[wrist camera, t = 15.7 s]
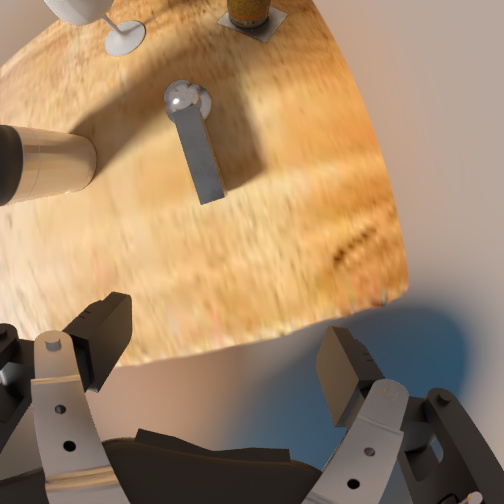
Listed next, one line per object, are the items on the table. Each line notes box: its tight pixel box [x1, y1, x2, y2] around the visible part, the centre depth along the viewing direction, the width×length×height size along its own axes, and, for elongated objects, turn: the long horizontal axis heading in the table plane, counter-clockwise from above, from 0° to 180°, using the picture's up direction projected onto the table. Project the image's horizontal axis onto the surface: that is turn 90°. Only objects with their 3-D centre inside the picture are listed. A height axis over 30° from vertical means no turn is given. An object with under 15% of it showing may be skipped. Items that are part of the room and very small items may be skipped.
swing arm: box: [164, 80, 228, 205], centre depth 33 cm, size 16×4×5 cm, turn 17°
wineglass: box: [44, 0, 145, 56], centre depth 21 cm, size 8×8×21 cm
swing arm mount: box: [166, 84, 212, 123], centre depth 35 cm, size 6×6×1 cm
